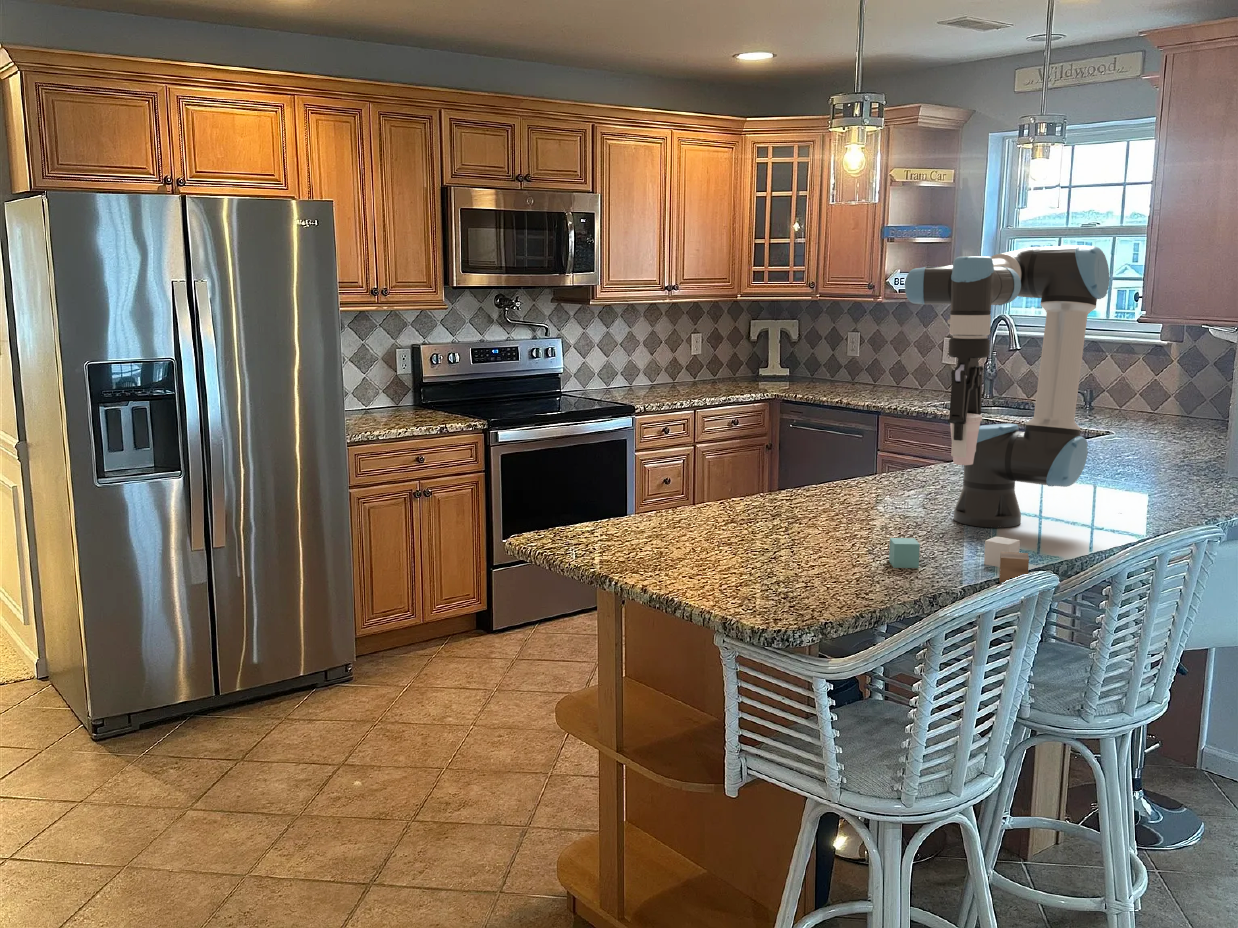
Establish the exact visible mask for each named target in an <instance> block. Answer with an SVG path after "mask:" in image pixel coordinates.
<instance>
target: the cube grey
mask: <svg viewBox="0 0 1238 928" xmlns="http://www.w3.org/2000/svg"><path fill="white" fill-rule="evenodd" d="M1020 543H1021V539H1015V538H1010V537H1009V538H1008V537H1002V536H993V537H991V538H989V539H986V540H985V541H984V556H983V557H984V558H983V559H984V560H983V561H984V562H983V565H986V566H992V567H997V568H1000V555H1001V551H1003V552H1017V553H1020V546H1021V544H1020Z"/></svg>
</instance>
